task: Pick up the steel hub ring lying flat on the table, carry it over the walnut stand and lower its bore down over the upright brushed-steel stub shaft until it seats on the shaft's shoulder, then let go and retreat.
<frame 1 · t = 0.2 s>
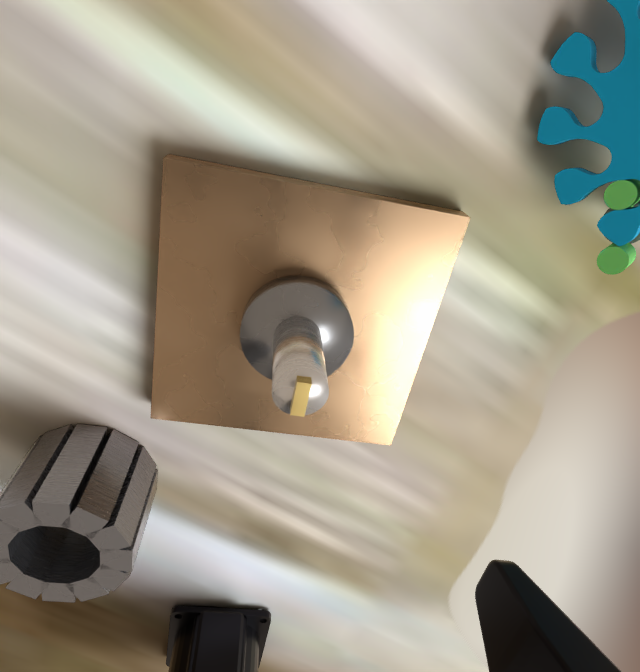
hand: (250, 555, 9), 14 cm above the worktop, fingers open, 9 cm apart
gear: (621, 108, 19), on the worktop
shaft stand: (296, 316, 22), on the worktop
hub: (93, 473, 26), on the worktop
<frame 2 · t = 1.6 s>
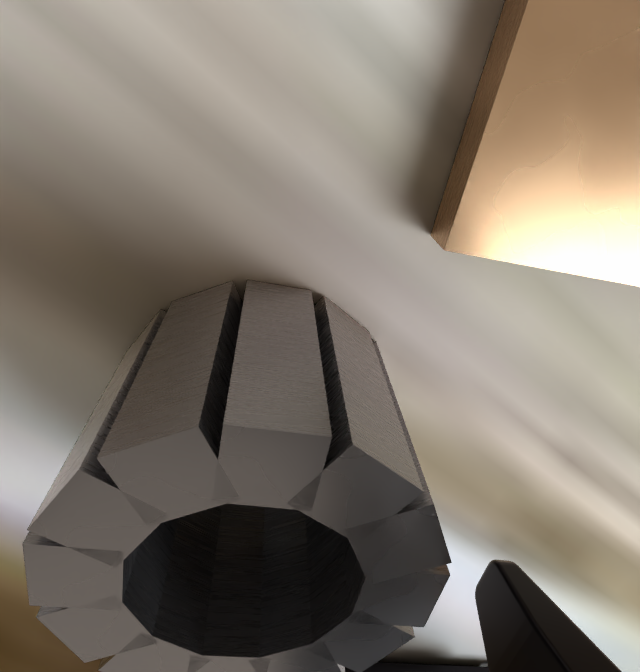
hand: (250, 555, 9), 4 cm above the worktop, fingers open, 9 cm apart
hub: (257, 404, 12), on the worktop
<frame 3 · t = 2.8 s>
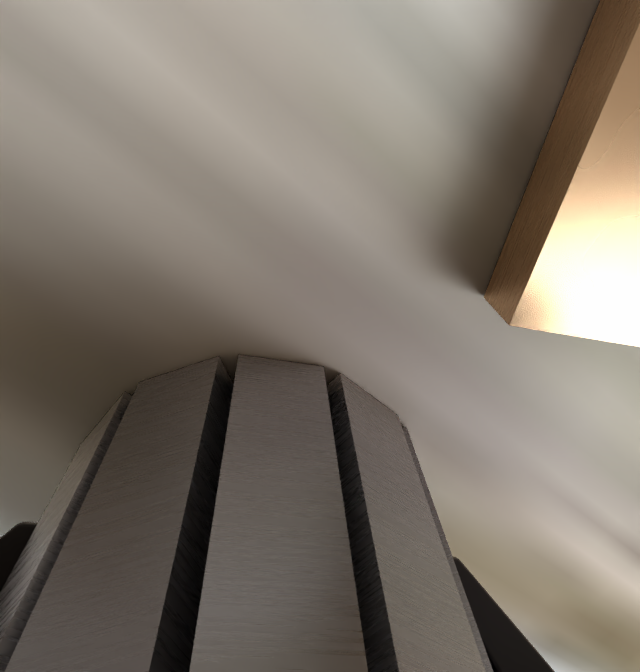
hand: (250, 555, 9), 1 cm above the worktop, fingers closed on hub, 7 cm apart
hub: (253, 501, 10), on the worktop, touching gripper
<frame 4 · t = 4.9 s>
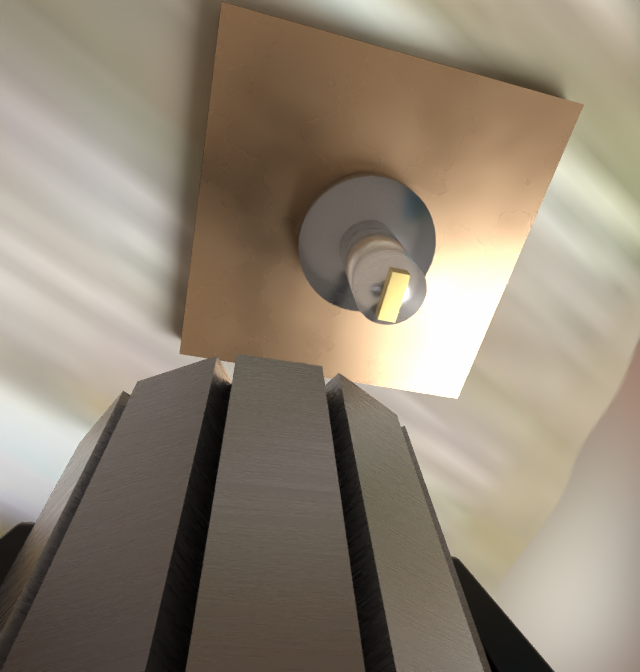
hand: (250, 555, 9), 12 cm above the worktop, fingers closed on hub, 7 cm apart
shaft stand: (359, 233, 19), on the worktop
hub: (252, 501, 10), point 11 cm above the worktop, touching gripper
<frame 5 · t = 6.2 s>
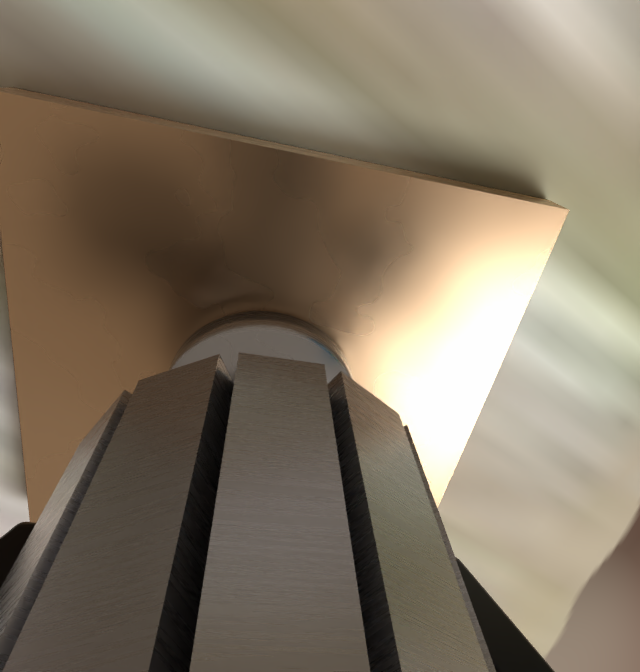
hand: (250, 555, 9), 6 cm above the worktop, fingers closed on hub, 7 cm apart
shaft stand: (263, 373, 13), on the worktop
hub: (254, 500, 10), point 5 cm above the worktop, touching gripper
when the fingers open (4 cm above the worktop, at t = 7.4 s): hub stays where it is, resting on shaft stand.
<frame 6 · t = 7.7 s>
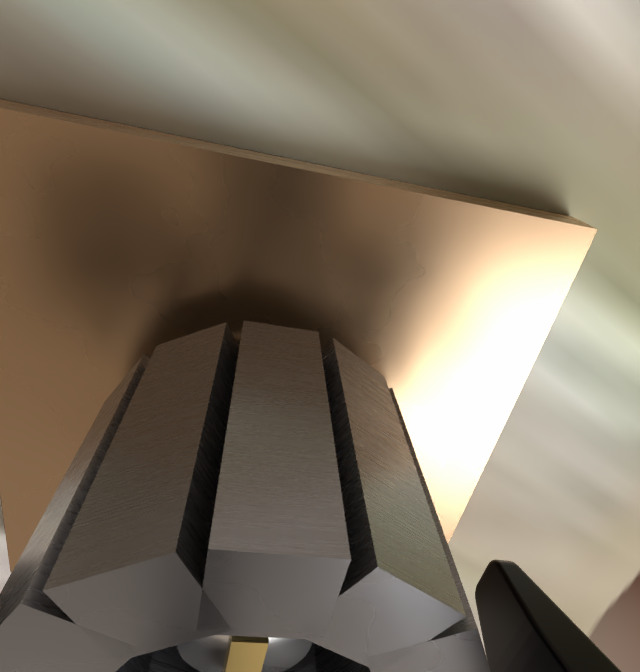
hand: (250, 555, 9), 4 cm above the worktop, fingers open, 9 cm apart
shaft stand: (260, 402, 12), on the worktop
hub: (256, 457, 11), point 2 cm above the worktop, touching shaft stand
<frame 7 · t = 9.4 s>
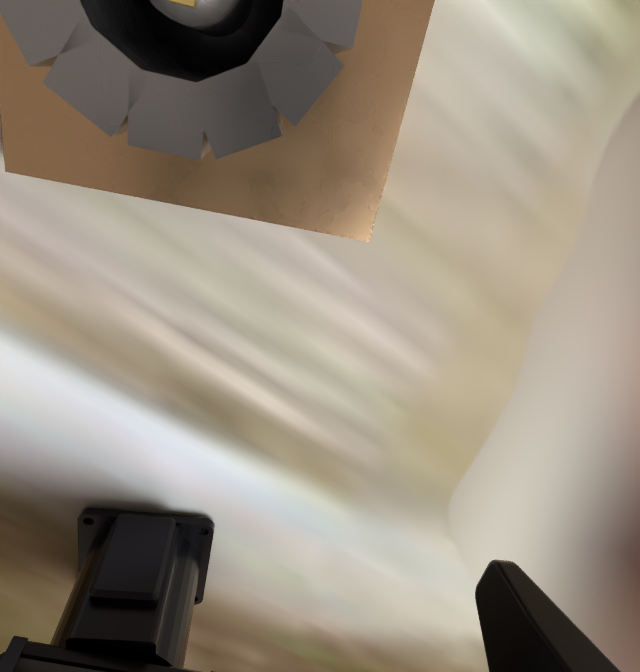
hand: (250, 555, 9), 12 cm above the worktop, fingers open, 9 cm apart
shaft stand: (222, 1, 14), on the worktop
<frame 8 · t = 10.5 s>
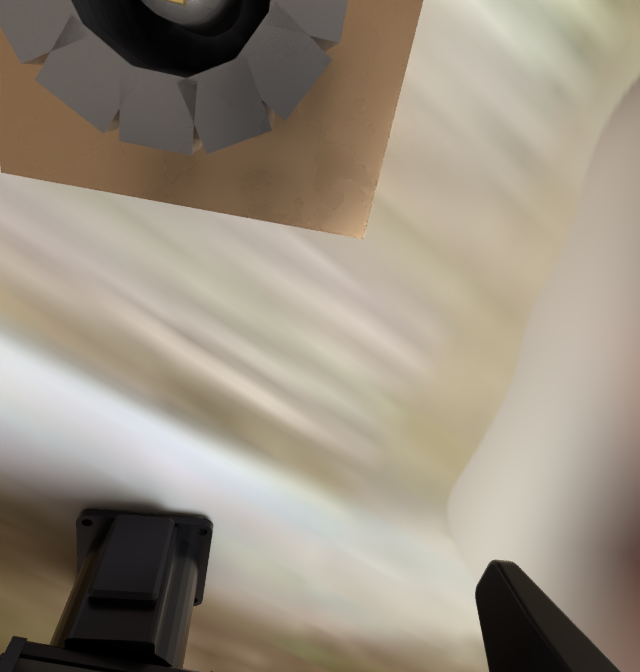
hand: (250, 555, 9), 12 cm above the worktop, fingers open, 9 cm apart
shaft stand: (214, 2, 15), on the worktop
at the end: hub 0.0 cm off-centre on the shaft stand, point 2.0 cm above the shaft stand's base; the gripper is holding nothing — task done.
